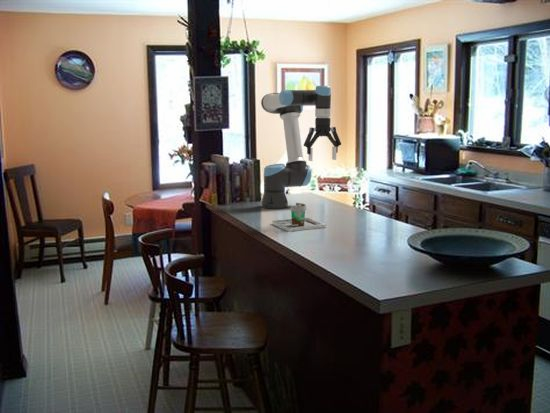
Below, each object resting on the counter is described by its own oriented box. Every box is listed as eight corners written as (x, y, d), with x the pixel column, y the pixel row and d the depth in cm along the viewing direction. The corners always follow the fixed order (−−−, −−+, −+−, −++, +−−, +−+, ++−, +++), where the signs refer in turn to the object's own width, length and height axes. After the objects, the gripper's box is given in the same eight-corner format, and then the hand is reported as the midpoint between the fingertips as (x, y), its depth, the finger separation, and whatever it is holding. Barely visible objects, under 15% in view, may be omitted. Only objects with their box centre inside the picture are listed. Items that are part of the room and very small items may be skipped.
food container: (304, 228, 278) (304, 207, 277) (291, 228, 280) (291, 207, 278) (308, 223, 290) (308, 203, 289) (296, 222, 292) (296, 202, 290)
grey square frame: (271, 224, 289) (271, 220, 289) (308, 220, 297) (308, 217, 297) (288, 231, 273) (288, 228, 273) (326, 227, 281) (326, 224, 281)
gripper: (304, 118, 290) (303, 162, 294) (348, 117, 300) (347, 159, 304) (297, 117, 297) (296, 160, 300) (340, 116, 307) (340, 158, 311)
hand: (322, 160), depth 302 cm, fingers open, 13 cm apart
